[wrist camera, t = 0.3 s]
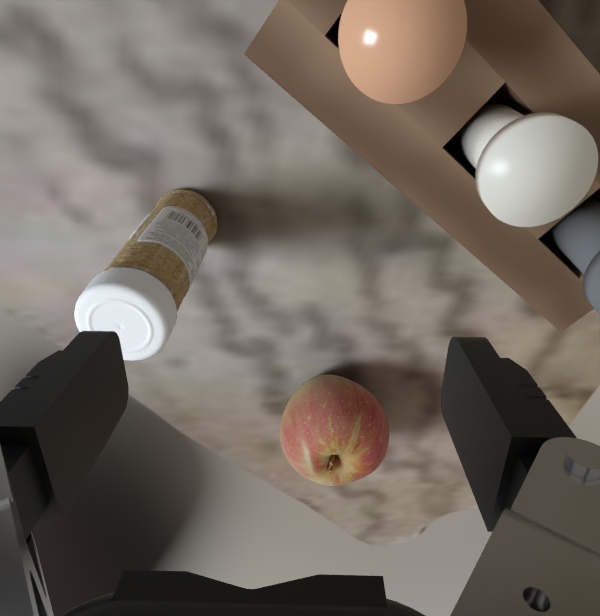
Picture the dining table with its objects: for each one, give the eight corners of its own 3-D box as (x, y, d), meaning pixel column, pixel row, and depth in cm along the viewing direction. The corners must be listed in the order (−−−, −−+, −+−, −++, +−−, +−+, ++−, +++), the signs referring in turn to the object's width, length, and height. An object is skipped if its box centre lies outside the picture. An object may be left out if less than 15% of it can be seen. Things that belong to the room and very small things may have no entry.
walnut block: (378, -137, 23) (393, -175, 18) (656, 183, 31) (720, 219, 26) (258, 44, 28) (243, 54, 23) (527, 284, 36) (560, 331, 31)
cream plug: (496, 68, 24) (552, 90, 18) (552, 129, 25) (621, 168, 19) (428, 141, 26) (458, 182, 20) (483, 193, 27) (526, 246, 22)
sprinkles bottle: (142, 208, 34) (50, 313, 22) (192, 174, 32) (120, 269, 21) (184, 258, 36) (118, 377, 24) (232, 228, 34) (186, 341, 23)
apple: (318, 340, 39) (317, 410, 33) (403, 385, 42) (418, 460, 35) (266, 404, 44) (256, 477, 37) (346, 442, 46) (350, 517, 39)
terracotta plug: (381, -57, 21) (402, -78, 16) (451, 18, 23) (494, 25, 17) (316, 35, 23) (312, 46, 18) (383, 98, 25) (401, 129, 19)
